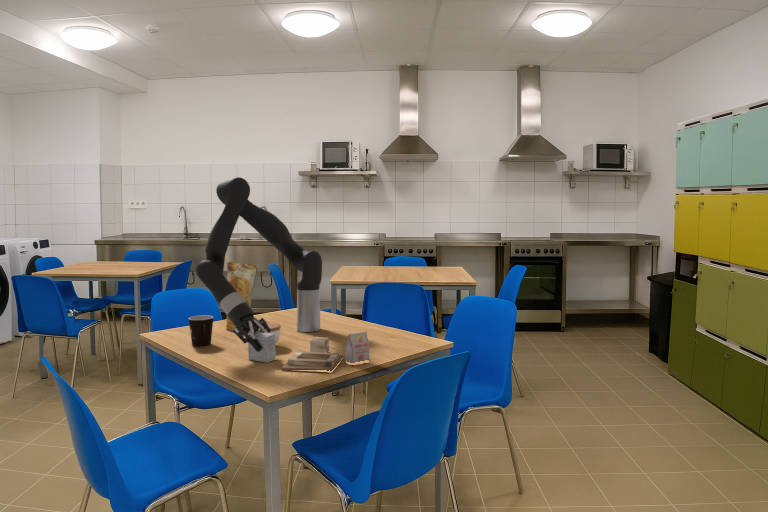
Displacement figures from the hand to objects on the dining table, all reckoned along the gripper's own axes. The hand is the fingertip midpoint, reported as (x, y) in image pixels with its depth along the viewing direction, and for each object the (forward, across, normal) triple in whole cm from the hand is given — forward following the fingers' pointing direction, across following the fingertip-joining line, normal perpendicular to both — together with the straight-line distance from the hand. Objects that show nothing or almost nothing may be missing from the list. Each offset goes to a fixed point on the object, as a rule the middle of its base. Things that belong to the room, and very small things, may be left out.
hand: (266, 347), depth 161 cm
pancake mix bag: (-22, +30, +28) cm, 47 cm away
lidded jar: (-4, +14, +11) cm, 18 cm away
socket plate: (+15, +3, -8) cm, 17 cm away
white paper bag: (+23, +10, -17) cm, 30 cm away
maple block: (+11, +15, -5) cm, 19 cm away
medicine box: (+2, 0, +4) cm, 5 cm away
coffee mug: (-20, +5, +26) cm, 33 cm away
